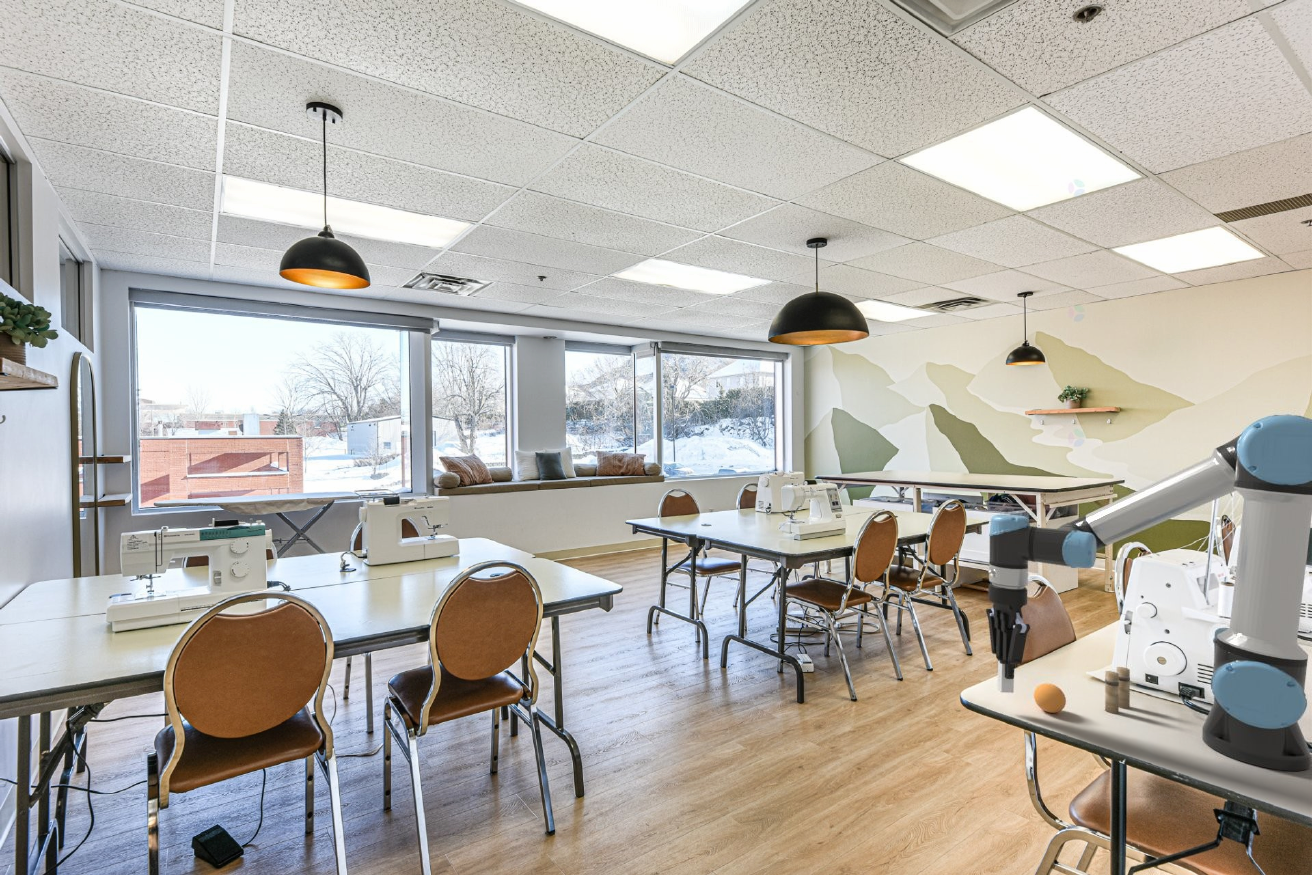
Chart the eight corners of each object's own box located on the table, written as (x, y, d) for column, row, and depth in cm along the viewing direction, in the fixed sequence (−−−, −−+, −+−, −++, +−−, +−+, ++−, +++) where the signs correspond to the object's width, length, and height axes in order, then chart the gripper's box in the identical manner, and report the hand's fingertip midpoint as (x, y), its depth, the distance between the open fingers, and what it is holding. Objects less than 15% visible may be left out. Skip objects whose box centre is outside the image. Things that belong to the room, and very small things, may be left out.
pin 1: (1119, 711, 139) (1119, 672, 139) (1118, 714, 137) (1118, 675, 137) (1105, 707, 140) (1105, 669, 140) (1104, 711, 138) (1104, 673, 139)
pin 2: (1130, 706, 141) (1130, 668, 141) (1129, 709, 139) (1129, 671, 140) (1116, 703, 143) (1116, 665, 143) (1115, 706, 141) (1115, 668, 141)
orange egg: (1067, 710, 139) (1068, 683, 139) (1063, 719, 134) (1063, 691, 134) (1036, 703, 143) (1036, 676, 143) (1031, 711, 138) (1031, 684, 138)
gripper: (975, 577, 145) (973, 679, 145) (1008, 592, 132) (1005, 703, 132) (1007, 578, 145) (1005, 679, 145) (1043, 592, 132) (1040, 703, 132)
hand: (1005, 690), depth 138 cm, fingers closed
